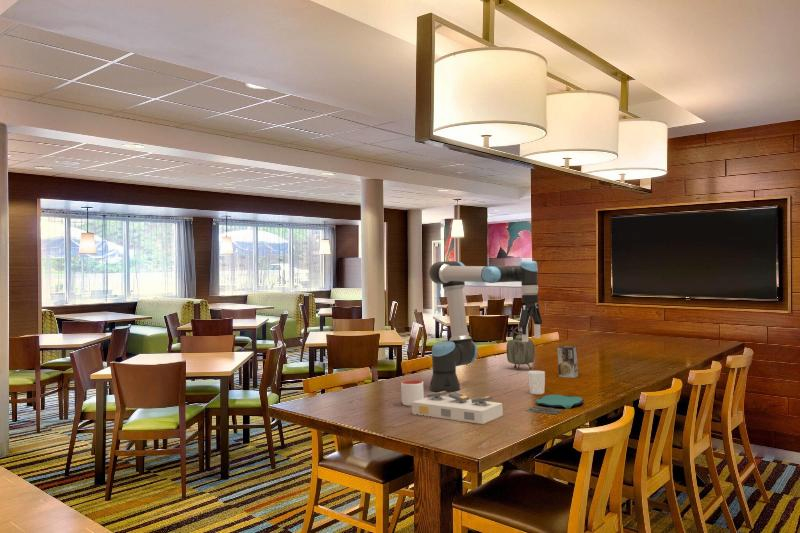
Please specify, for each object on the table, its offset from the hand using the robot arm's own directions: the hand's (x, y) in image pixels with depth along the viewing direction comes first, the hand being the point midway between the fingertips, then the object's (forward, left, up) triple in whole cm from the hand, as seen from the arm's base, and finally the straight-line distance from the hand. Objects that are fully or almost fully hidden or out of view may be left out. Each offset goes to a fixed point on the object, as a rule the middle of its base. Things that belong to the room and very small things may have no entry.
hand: (531, 339), depth 283 cm
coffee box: (-6, +54, -26) cm, 61 cm away
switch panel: (-12, -48, -26) cm, 56 cm away
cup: (-40, -41, -26) cm, 63 cm away
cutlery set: (+16, -14, -27) cm, 34 cm away
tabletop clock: (-39, +63, -26) cm, 79 cm away
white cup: (-2, +7, -26) cm, 27 cm away
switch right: (-1, -46, -19) cm, 50 cm away
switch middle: (-12, -46, -19) cm, 51 cm away
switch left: (-23, -46, -19) cm, 54 cm away
